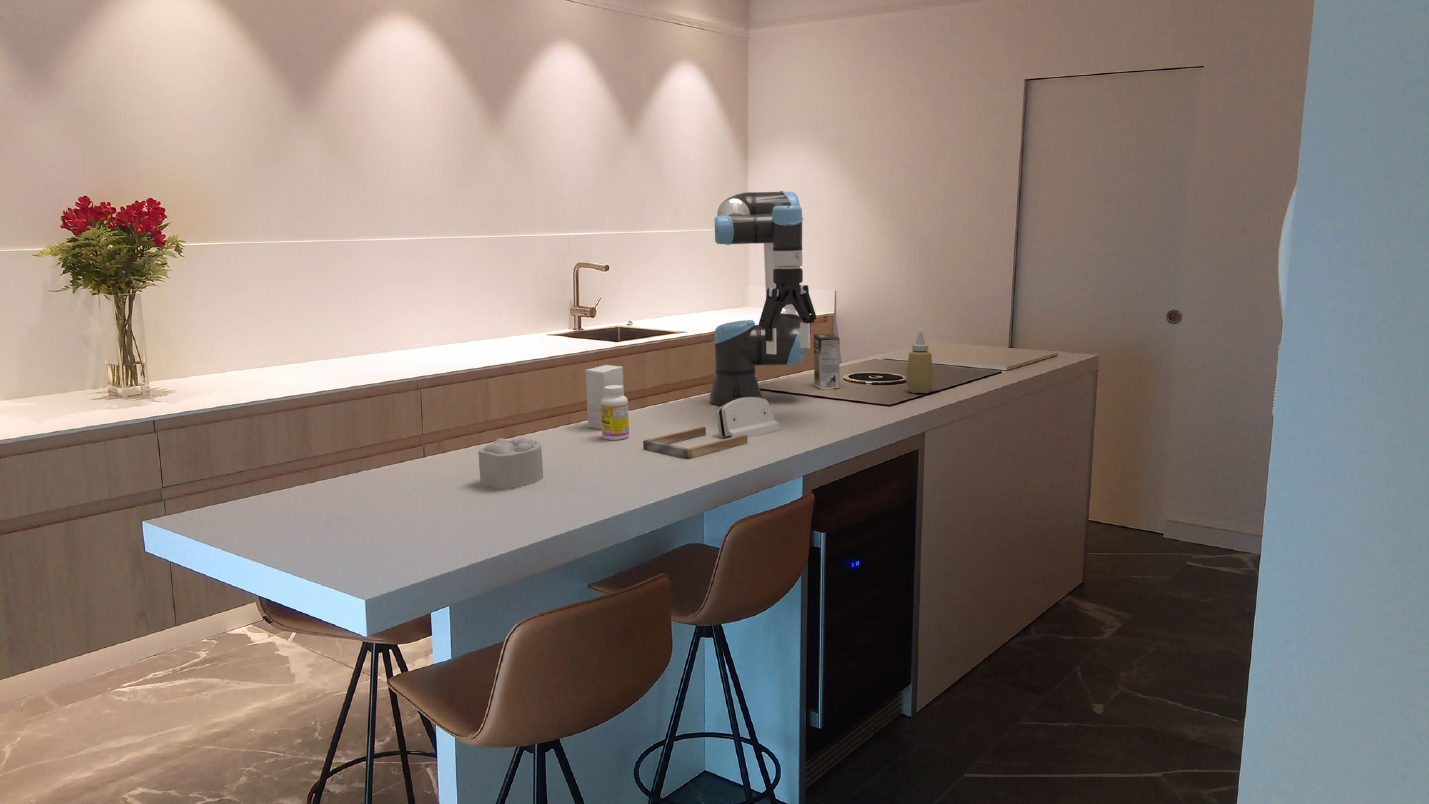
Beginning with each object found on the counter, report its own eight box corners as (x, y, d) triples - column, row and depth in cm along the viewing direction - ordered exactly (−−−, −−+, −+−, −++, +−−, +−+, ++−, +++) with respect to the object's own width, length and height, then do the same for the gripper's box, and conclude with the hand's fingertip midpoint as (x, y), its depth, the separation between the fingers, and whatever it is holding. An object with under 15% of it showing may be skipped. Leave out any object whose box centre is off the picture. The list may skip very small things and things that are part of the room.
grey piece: (732, 440, 231) (722, 400, 232) (720, 444, 234) (710, 404, 235) (781, 429, 242) (771, 391, 242) (769, 433, 245) (759, 395, 246)
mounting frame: (643, 448, 225) (643, 440, 225) (702, 434, 239) (702, 426, 238) (688, 459, 215) (688, 450, 214) (747, 443, 228) (747, 434, 228)
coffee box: (813, 385, 304) (813, 334, 301) (833, 384, 304) (833, 333, 301) (819, 390, 295) (819, 337, 292) (840, 389, 295) (840, 337, 292)
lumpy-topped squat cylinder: (474, 483, 199) (471, 443, 198) (524, 470, 209) (521, 431, 207) (505, 492, 192) (502, 450, 191) (555, 477, 202) (552, 437, 200)
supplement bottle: (599, 436, 239) (596, 385, 237) (624, 433, 242) (622, 383, 239) (607, 441, 233) (604, 390, 231) (632, 438, 236) (630, 387, 233)
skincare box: (608, 422, 256) (605, 364, 253) (627, 424, 252) (624, 366, 249) (586, 428, 249) (583, 368, 246) (605, 430, 245) (603, 370, 242)
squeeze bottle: (912, 389, 292) (913, 330, 289) (937, 391, 287) (938, 331, 284) (901, 393, 286) (901, 333, 282) (926, 395, 281) (927, 334, 277)
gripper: (766, 270, 231) (767, 357, 235) (829, 265, 249) (829, 346, 253) (743, 270, 236) (745, 355, 240) (807, 264, 254) (807, 344, 258)
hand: (788, 350), depth 247 cm, fingers open, 13 cm apart
